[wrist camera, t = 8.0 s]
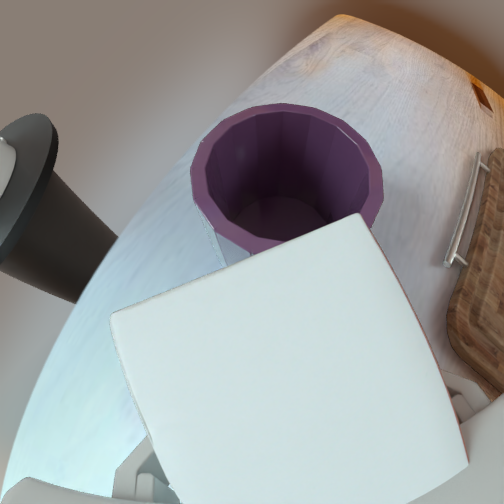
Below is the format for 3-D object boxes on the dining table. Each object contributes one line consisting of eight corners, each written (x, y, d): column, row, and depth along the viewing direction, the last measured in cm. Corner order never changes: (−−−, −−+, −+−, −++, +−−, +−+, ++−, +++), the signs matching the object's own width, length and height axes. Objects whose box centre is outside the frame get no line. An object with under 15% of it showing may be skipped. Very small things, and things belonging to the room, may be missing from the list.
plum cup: (231, 316, 19) (203, 279, 10) (211, 205, 22) (185, 119, 13) (353, 288, 19) (412, 234, 11) (318, 185, 22) (341, 98, 14)
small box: (351, 413, 15) (478, 482, 3) (261, 453, 15) (247, 592, 3) (300, 306, 18) (361, 202, 6) (210, 345, 18) (97, 315, 5)
